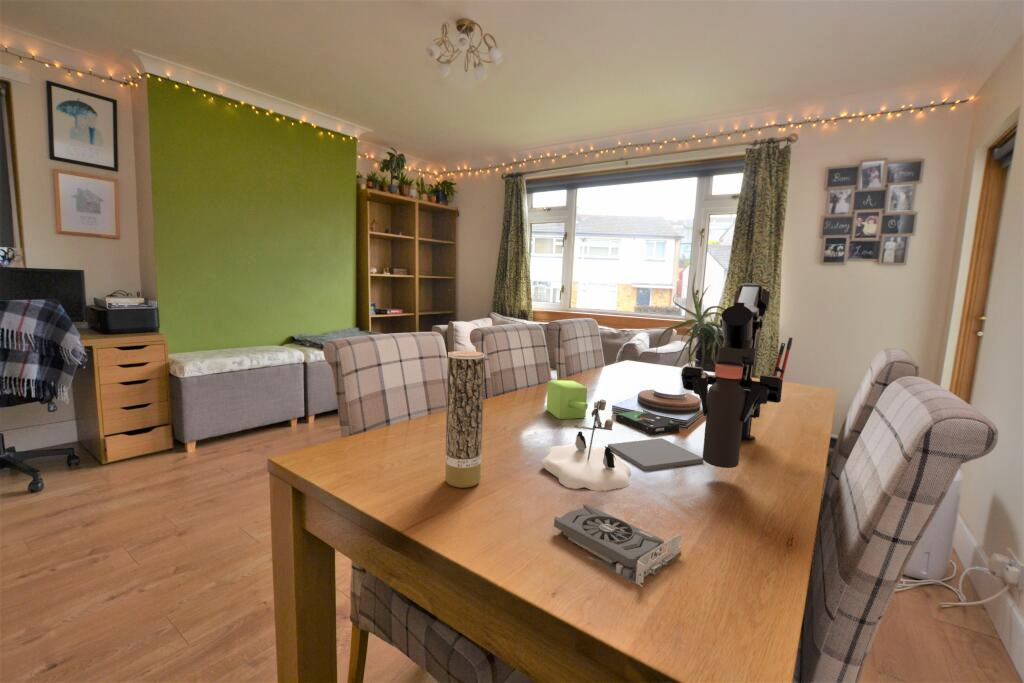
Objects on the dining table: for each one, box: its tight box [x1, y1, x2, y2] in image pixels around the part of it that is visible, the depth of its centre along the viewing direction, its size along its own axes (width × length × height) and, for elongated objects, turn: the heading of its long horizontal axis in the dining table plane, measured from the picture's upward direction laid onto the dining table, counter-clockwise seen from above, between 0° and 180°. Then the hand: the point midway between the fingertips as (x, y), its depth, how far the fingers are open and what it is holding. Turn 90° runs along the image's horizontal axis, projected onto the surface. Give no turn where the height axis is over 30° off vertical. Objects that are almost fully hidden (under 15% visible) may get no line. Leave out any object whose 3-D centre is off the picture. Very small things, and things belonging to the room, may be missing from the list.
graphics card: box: [553, 504, 683, 588], centre depth 70 cm, size 17×4×12 cm
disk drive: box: [615, 409, 681, 436], centre depth 131 cm, size 10×3×15 cm
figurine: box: [541, 399, 632, 492], centre depth 96 cm, size 20×18×16 cm
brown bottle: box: [702, 364, 746, 469], centre depth 94 cm, size 7×7×20 cm
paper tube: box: [444, 350, 485, 489], centre depth 88 cm, size 7×7×25 cm
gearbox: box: [546, 379, 589, 420], centre depth 138 cm, size 18×10×10 cm, turn 16°
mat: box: [607, 437, 704, 472], centre depth 108 cm, size 16×14×1 cm
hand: (723, 418), depth 93 cm, fingers closed on brown bottle, 7 cm apart
